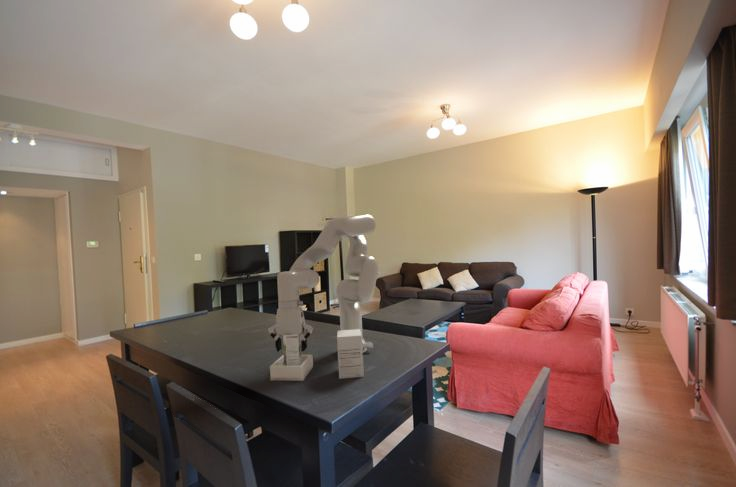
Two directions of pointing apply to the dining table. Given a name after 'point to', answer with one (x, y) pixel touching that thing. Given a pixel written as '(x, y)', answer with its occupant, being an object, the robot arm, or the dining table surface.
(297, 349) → the syrup box
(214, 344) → the dining table surface
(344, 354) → the supplement box
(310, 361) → the box
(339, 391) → the dining table surface
